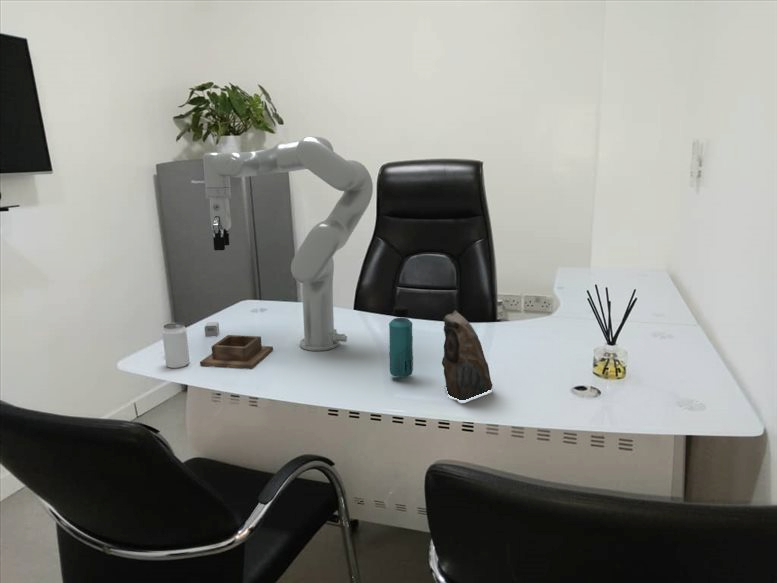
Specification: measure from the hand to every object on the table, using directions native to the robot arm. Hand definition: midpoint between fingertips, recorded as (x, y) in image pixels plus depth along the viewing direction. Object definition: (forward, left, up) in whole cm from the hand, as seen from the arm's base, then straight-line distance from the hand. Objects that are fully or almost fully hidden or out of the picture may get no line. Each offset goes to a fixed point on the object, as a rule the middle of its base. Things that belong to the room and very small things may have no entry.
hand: (222, 247), depth 173 cm
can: (+5, +24, -31) cm, 39 cm away
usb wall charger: (+9, -5, -31) cm, 33 cm away
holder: (-10, +16, -31) cm, 36 cm away
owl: (-79, +31, -31) cm, 91 cm away
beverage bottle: (-61, +24, -31) cm, 73 cm away
